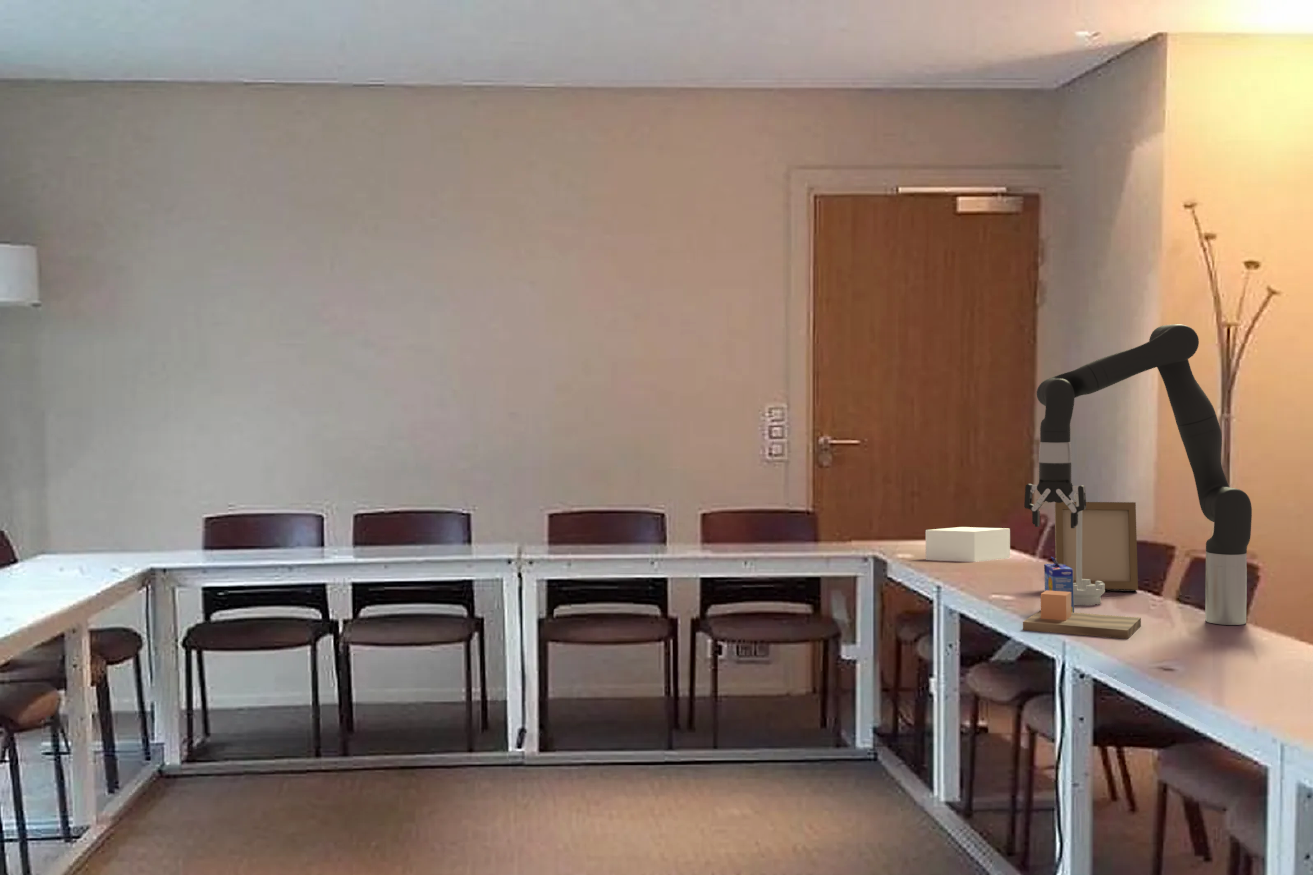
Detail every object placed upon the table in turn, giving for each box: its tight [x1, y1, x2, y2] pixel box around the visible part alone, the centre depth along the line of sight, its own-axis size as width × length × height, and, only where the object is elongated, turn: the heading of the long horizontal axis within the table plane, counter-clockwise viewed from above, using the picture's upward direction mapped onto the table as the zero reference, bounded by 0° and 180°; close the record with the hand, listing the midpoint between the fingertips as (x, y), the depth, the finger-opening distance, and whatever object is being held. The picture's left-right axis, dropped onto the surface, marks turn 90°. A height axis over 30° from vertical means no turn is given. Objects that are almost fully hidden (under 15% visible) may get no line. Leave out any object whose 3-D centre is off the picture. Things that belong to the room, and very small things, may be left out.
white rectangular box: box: [925, 526, 1011, 563], centre depth 437 cm, size 14×29×10 cm, turn 94°
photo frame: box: [1054, 501, 1139, 592], centre depth 373 cm, size 15×22×25 cm
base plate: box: [1022, 609, 1142, 640], centre depth 313 cm, size 18×24×6 cm
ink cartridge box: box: [1043, 556, 1075, 613], centre depth 333 cm, size 10×6×14 cm, turn 177°
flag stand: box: [1073, 492, 1106, 606], centre depth 350 cm, size 13×13×30 cm
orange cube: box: [1040, 590, 1071, 620], centre depth 316 cm, size 6×6×6 cm
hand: (1055, 527), depth 315 cm, fingers open, 8 cm apart
